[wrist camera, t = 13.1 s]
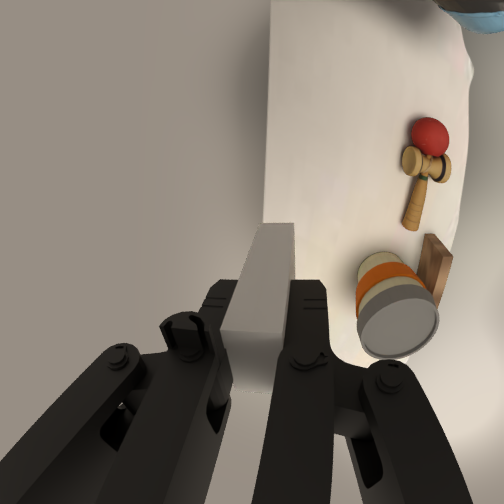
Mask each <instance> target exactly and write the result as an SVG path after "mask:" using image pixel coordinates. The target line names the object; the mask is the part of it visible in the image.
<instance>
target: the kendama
mask: <svg viewBox="0 0 504 504" xmlns="http://www.w3.org/2000/svg"><path fill="white" fill-rule="evenodd" d="M411 136H412V141H413V144H414V146H415V147H413V146H409V147H407V148H406V149H405V151H404V154H403V158H402V166H403V170H404V172H405V174H406V175H409V176H416V175H417V174H419V173H420V175H419V177H418V180H417V182H416V185H415V188H414V190H413V193H412V196H411V200H410V203H409V206H408V209H407V211H406V214H405V217H404V219H403V222H402V225H403V227H405V228H406V229H408V230H410V231H417V230H418V228H419V223H420V219H421V214H422V210H423V205H424V201H425V196H426V190H427V182H428V174H430V175H431V178H432V179H433V181H435V182H438V183H445V182H446V181H447V180H448V179H449V177H450V174H451V161H450V159H449V157H448V156H447V155H446V154H445V151H446V150H447V148H448V146H449V135H448V132H447V129H446V128H445V126H444V125H443V124H442V123H441V122H440V121H438V120H436V119H434V118H429V117H425V118H421V119H419V120H418V121H416V123H415V124H414V126H413V128H412V133H411Z"/></svg>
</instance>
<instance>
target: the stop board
mask: <svg viewBox="0 0 504 504" xmlns="http://www.w3.org/2000/svg"><path fill="white" fill-rule="evenodd" d="M452 260H453V256H452V254H451V253H450V252H449V251H448V249H447V248H446V247H445V246H444V245H443V243H442V242H441V241H440V240H439V239H438V238H437V236H436V235H435V234H425V236H424V242H423V247H422V252H421V257H420V262H419V266H418V271H417V276H418V277H419V279H420V280H421V281H422V282H423V284H424V285H425V287H426V290H428V291H429V292H430V293H431V295H432V296H433V299H434V301H435V304H436V307H437V309H438V306H439V303H440V300H441V297H442V294H443V291H444V288H445V285H446V281H447V278H448V274H449V271H450V267H451V263H452Z"/></svg>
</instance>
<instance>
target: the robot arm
mask: <svg viewBox="0 0 504 504" xmlns="http://www.w3.org/2000/svg"><path fill="white" fill-rule="evenodd" d="M433 1H434V2H435V3H437V4H438V6H439V8H441V9H442V10H443V11H444V12H446V13H448V14H449V15H450V16H452V17H453V18H454V19H455V20H456V21H457V22H458V23H459V24H460V25H461V26H462V27H464V28H465V29H467V30H469V31H472V32H474V33H478V34H491V33H497V32H501V31H504V0H433ZM159 327H160V329H161V332H162V335H163V337H164V339H165V342H166V344H167V347H168V350H167V351H166V352H161V353H153V354H143V355H140V353H139V351H138V349H137V348H136V347H135V346H133V345H131V344H128V343H121V344H116V345H114V346H111V347H109V348H108V349H107V350H105V351H104V352H103V353H102V354H101V355H100V356H99V357H98V358H97V359H96V360H95V361H94V362H93V363H92V364H91V365H90V366H89V367H88V368H87V369H86V370H85V371H84V372H83V373H82V374H81V375H80V376H79V377H78V378H77V379H76V380H75V381H74V382H73V383H72V384H71V385H70V386H69V387H68V388H67V389H66V390H65V391H64V392H63V393H62V395H61V396H60V397H59V398H58V399H57V400H56V401H55V402H54V403H53V404H52V405H51V406H50V407H49V408H48V409H47V410H46V411H45V413H44V414H43V415H42V416H41V417H40V418H39V419H38V420H37V421H36V422H35V423H34V425H32V426H31V428H30V429H29V430H28V431H27V432H26V433H25V434H24V435H23V436H22V437H21V439H20V440H19V441H18V442H17V443H16V444H15V445H14V447H13V448H12V449H11V450H10V451H9V452H8V453H7V454H6V456H5V457H4V458H3V459H2V460H1V461H0V504H204V502H205V499H206V496H207V492H208V489H209V485H210V482H211V478H212V474H213V471H214V467H215V464H216V460H217V457H218V453H219V449H220V446H221V442H222V438H223V435H224V430H225V427H226V423H227V419H228V416H229V412H230V409H231V397H230V391H231V387H232V383H233V384H234V388H235V390H236V391H245V392H254V393H268V394H272V398H271V404H270V410H269V416H268V421H267V428H266V433H265V438H264V444H263V449H262V454H261V459H260V465H259V470H258V475H257V479H256V484H255V489H254V494H253V498H252V503H251V504H330V496H331V484H332V468H333V467H332V466H333V445H334V434H339V435H342V436H345V439H346V442H347V446H348V449H349V453H350V456H351V460H352V463H353V467H354V471H355V474H356V478H357V482H358V486H359V489H360V493H361V497H362V501H363V504H473V502H472V499H471V496H470V494H469V491H468V488H467V485H466V483H465V480H464V477H463V475H462V472H461V470H460V468H459V465H458V463H457V460H456V458H455V455H454V453H453V451H452V449H451V446H450V444H449V442H448V440H447V437H446V436H445V433H444V431H443V429H442V427H441V425H440V423H439V420H438V419H437V416H436V414H435V412H434V410H433V408H432V407H431V405H430V402H429V400H428V398H427V397H426V395H425V393H424V391H423V389H422V387H421V385H420V383H419V381H418V380H417V378H416V376H415V374H414V373H413V371H412V370H411V369H410V368H409V367H408V366H407V365H406V364H404V363H402V362H400V361H397V360H392V359H386V360H379V361H377V362H375V363H373V364H371V365H370V366H369V367H368V368H363V367H359V366H355V365H351V364H348V363H346V362H344V361H342V360H341V359H339V358H338V357H337V356H336V355H335V354H334V353H333V351H332V349H331V347H330V340H329V322H328V307H327V294H326V288H325V287H324V285H323V284H322V283H321V281H320V280H295V240H294V223H260V224H259V227H258V230H257V232H256V235H255V237H254V240H253V243H252V246H251V248H250V250H249V253H248V256H247V258H246V261H245V264H244V267H243V269H242V272H241V275H240V278H239V280H223V279H222V280H221V279H220V280H219V281H218V282H216V283H215V284H214V285H213V286H212V287H211V288H210V290H209V292H208V293H207V296H206V299H205V300H204V302H203V304H202V307H201V308H200V310H199V312H198V313H197V312H193V311H189V312H180V313H177V314H174V315H172V316H170V317H168V318H167V319H165V320H164V321H163V322H162V323H161V324H160V326H159ZM121 403H123V404H122V405H120V404H121ZM119 405H120V406H119Z"/></svg>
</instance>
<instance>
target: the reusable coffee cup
mask: <svg viewBox="0 0 504 504" xmlns="http://www.w3.org/2000/svg"><path fill="white" fill-rule="evenodd" d="M357 278H358V286H357V288H356V317H357V332H358V335H359V338H360V341H361V344H362V348H363V349H364V351H365V352H366V353H367V354H368V355H370V356H372V357H374V358H377V359H380V360H386V359H392V360H395V359H400V358H404V357H407V356H409V355H411V354H413V353H415V352H417V351H418V350H420V349H421V348H423V347H424V346H425V345H426V344H427V343H428V342H429V341H430V340H431V339H432V337H433V336H434V334H435V333H436V331H437V328H438V324H439V313H438V310H437V307H436V304H435V301H434V299H433V296H432V295H431V293H430V292H429V291H428V290H426V287H425V285H424V284H423V282H422V281H421V280H420V279H419V277H418V276H417V275H416V274H415V273H414V271H413V270H412V269H411V268H410V267H409V266H407V265H405V264H404V263H403V262H402V261H401V260H400V259H399V257H397V256H396V255H395V254H392V253H389V252H379V253H376V254H373V255H371V256H369V257H368V258H367V259H366V260H365V261H364V262H363V263H362V264H361V266H360V267H359V270H358V275H357Z"/></svg>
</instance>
